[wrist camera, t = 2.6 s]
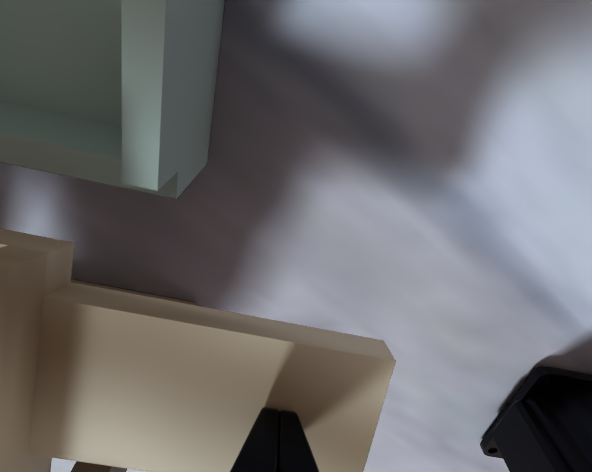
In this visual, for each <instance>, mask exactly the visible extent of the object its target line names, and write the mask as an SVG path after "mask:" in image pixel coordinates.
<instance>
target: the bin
mask: <svg viewBox="0 0 592 472" xmlns="http://www.w3.org/2000/svg"><path fill="white" fill-rule="evenodd" d="M224 4H225V0H0V162H2V163H7V164H12V165H16V166H21V167H26V168H31V169H36V170H40V171H45V172H50V173H55V174H59V175H64V176H69V177H74V178H78V179H83V180H88V181H93V182H98V183H102V184H107V185H112V186H117V187H121V188H126V189H131V190H136V191H140V192H145V193H150V194H155V195H159V196H164V197H169V198H174V199H177V198H178V196H179V195H180V194H181V193H182V192H183V191H184V190H185V188H186V187H187V186H188V185H189V184H190V183H191V182H192V181H193V179H194V178H195V177H196V176H197V175H198V174H199V173H200V172H201V170H202V169H203V168H204V167H205V166H206V165H207V160H208V150H209V141H210V132H211V123H212V114H213V105H214V95H215V86H216V77H217V68H218V59H219V50H220V40H221V31H222V22H223V13H224Z"/></svg>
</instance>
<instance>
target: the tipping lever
mask: <svg viewBox="0 0 592 472" xmlns="http://www.w3.org/2000/svg"><path fill="white" fill-rule="evenodd" d="M74 244H75V243H72V242H67V241H62V240H57V239H52V238H47V237H41V236H36V235H31V234H26V233H21V232H16V231H11V230H6V229H0V472H50V469H51V460H52V457H53V458H59V459H66V460H73V461H80V462H87V463H93V464H100V465H107V466H114V467H121V468H128V469H134V470H141V471H148V472H230V470H231V468H232V466H233V464H234V462H235V460H236V458H237V456H238V454H239V452H240V450H241V448H242V446H243V444H244V442H245V440H246V438H247V436H248V434H249V432H250V430H251V428H252V426H253V424H254V422H255V420H256V418H257V416H258V414H259V412H260V411H261V409H262V408H263V407H269V408H276V409H278V410H279V411H280V410H288V411H294V412H296V413H297V415H298V417H299V419H300V422H301V425H302V427H303V430H304V432H305V435H306V438H307V440H308V443H309V446H310V448H311V451H312V453H313V456H314V459H315V461H316V464H317V466H318V469H319V472H363V471H364V467H365V464H366V461H367V457H368V454H369V450H370V447H371V444H372V440H373V437H374V433H375V430H376V427H377V423H378V420H379V416H380V413H381V410H382V406H383V403H384V399H385V396H386V393H387V389H388V386H389V382H390V379H391V376H392V372H393V369H394V365H395V362H396V361H395V359H394V357H393V355H392V354H391V352H390V350H389V349H388V347H387V345H386V344H385V342H384V341H383V340H378V339H373V338H367V337H362V336H357V335H351V334H346V333H340V332H335V331H330V330H324V329H319V328H314V327H308V326H303V325H298V324H292V323H287V322H281V321H276V320H271V319H265V318H260V317H255V316H249V315H244V314H239V313H233V312H228V311H222V310H217V309H212V308H206V307H201V306H196V305H190V304H185V303H179V302H174V301H169V300H163V299H158V298H153V297H147V296H142V295H137V294H131V293H126V292H120V291H115V290H110V289H104V288H99V287H94V286H88V285H83V284H78V283H72V282H71V272H72V263H73V254H74Z"/></svg>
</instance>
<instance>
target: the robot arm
mask: <svg viewBox="0 0 592 472" xmlns="http://www.w3.org/2000/svg"><path fill="white" fill-rule="evenodd" d="M480 446H481V448H482V451H483V453H484V454H485V455H487V456H491V457H497V458H503V459H504V461H505V463H506V465H507V467H508V469H509V471H510V472H592V375H587V374H582V373H577V372H571V371H566V370H561V369H555V368H550V367H541V368H538V369H536V370H535V371H534V372H532V374H531V375H530V377H529V378H528V379H527V381H526V382H525V383H524V385H523V386H522V387H521V389H520V390H519V391H518V393H517V394H516V395H515V397H514V398H513V399H512V401H511V402H510V403H509V405H508V406H507V408H506V409H505V410H504V412H503V413H502V414H501V416H500V417H499V418H498V420H497V421H496V422H495V424H494V425H493V426H492V428H491V429H490V430H489V432H488V433H487V434H486V436H485V437H484V439H483V440H482V441H481V443H480ZM230 472H319V469H318V466H317V464H316V461H315V459H314V456H313V453H312V451H311V448H310V446H309V443H308V440H307V438H306V435H305V432H304V430H303V427H302V425H301V422H300V419H299V417H298V415H297V413H296V412H294V411H288V410H280V411H279V410H278V409H276V408H269V407H263V408H262V409H261V411H260V412H259V414H258V416H257V418H256V420H255V422H254V424H253V426H252V428H251V430H250V432H249V434H248V436H247V438H246V440H245V442H244V444H243V446H242V448H241V450H240V452H239V454H238V456H237V458H236V460H235V462H234V464H233V466H232V468H231V470H230Z"/></svg>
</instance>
